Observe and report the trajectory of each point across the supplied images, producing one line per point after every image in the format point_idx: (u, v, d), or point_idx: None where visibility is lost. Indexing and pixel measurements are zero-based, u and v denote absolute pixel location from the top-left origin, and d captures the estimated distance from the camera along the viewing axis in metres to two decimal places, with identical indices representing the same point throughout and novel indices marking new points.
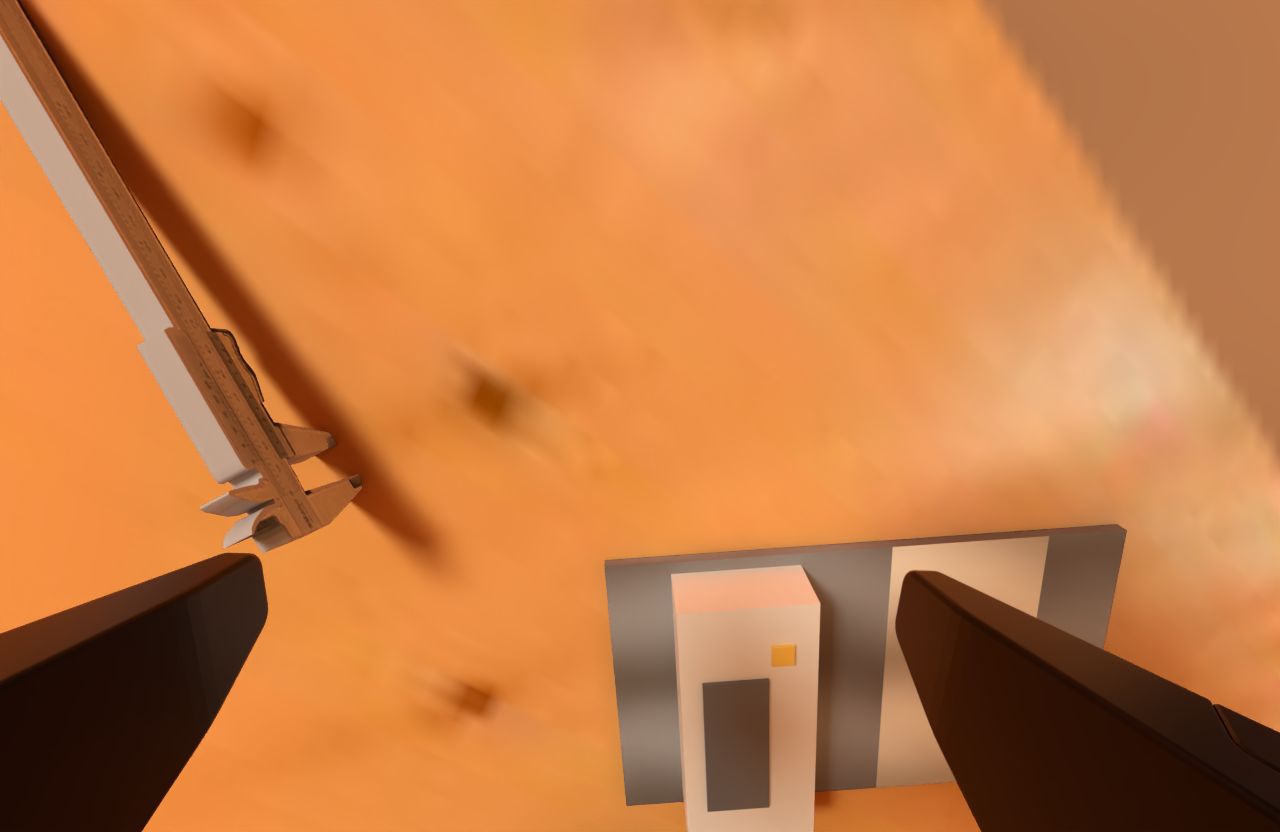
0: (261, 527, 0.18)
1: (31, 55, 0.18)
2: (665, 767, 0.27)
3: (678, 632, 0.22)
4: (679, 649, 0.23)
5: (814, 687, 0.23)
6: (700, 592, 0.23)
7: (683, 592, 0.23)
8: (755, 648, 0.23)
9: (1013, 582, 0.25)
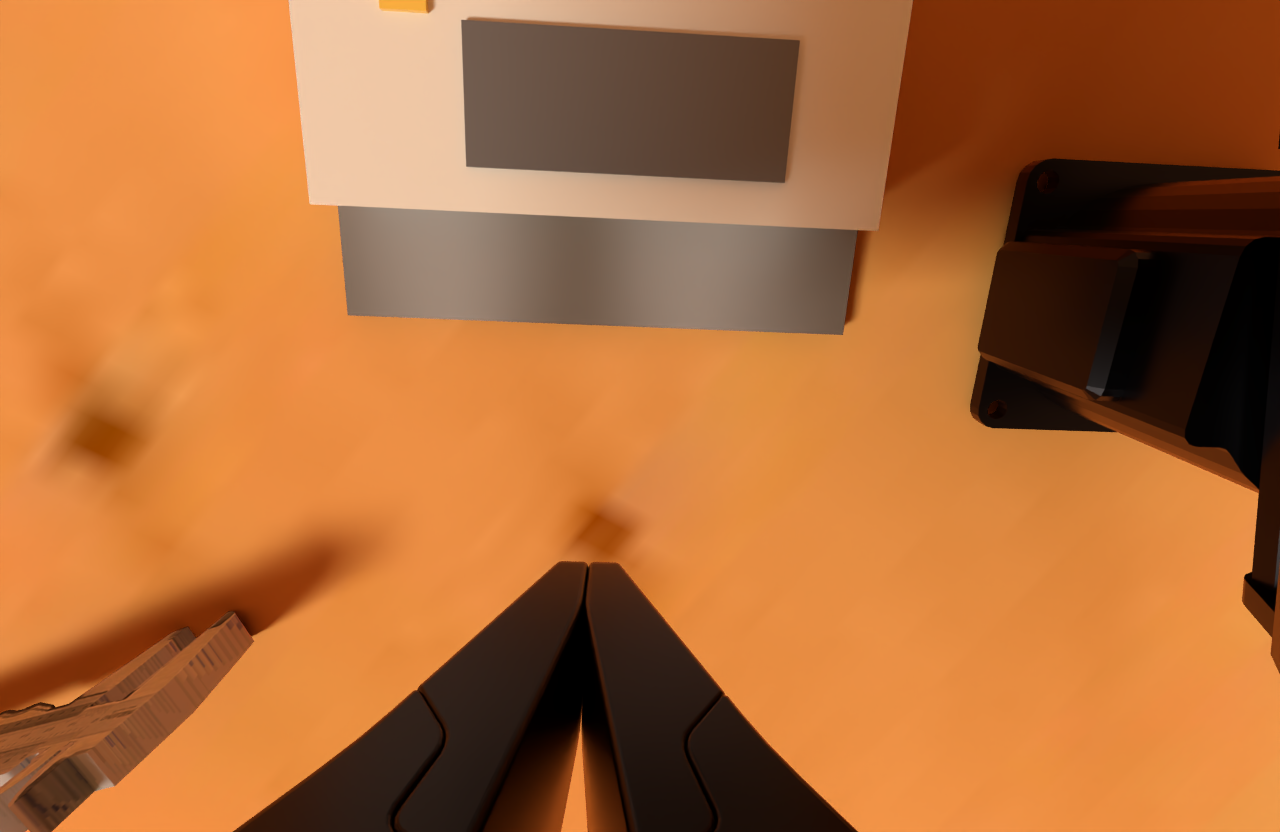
0: (29, 788, 0.13)
1: None
2: (770, 255, 0.15)
3: (351, 203, 0.12)
4: (388, 205, 0.12)
5: None
6: None
7: None
8: (389, 48, 0.11)
9: None
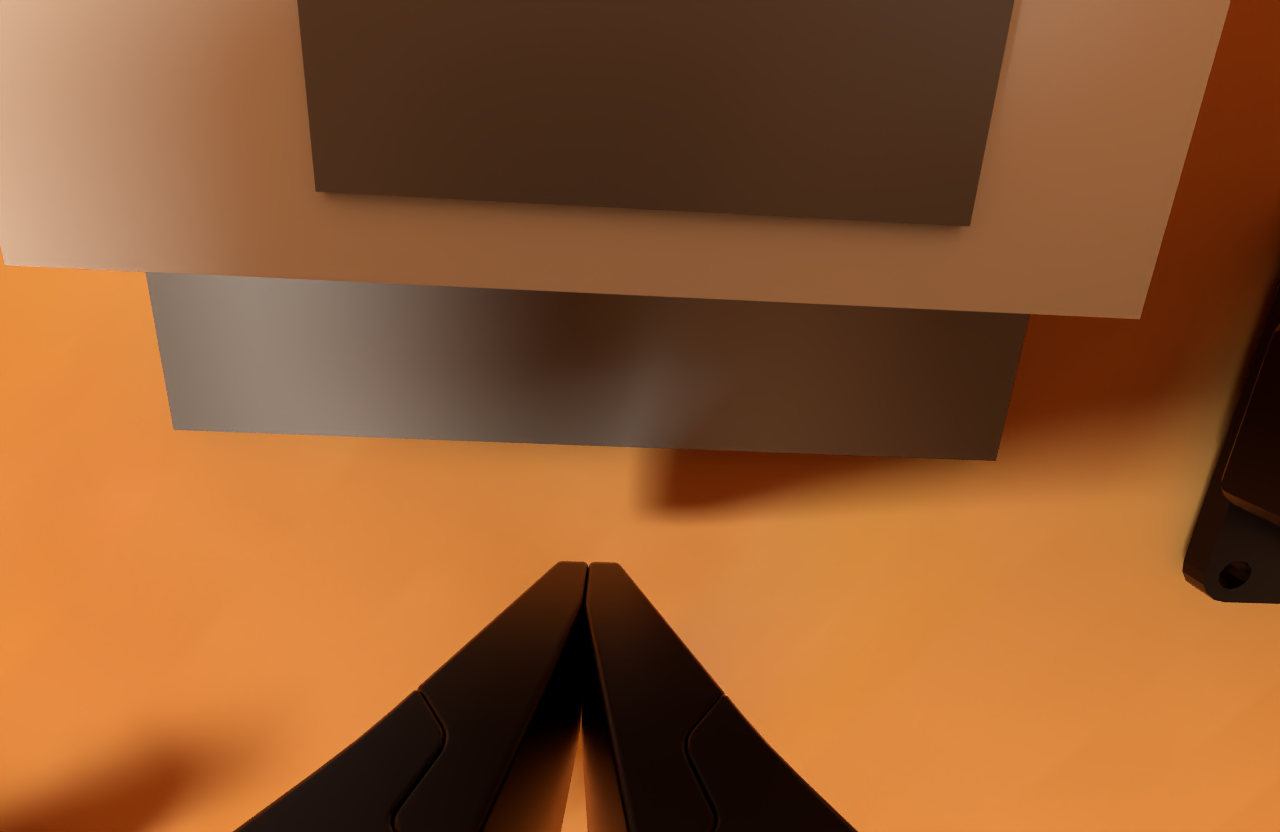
0: None
1: None
2: (884, 335, 0.09)
3: (90, 264, 0.06)
4: (165, 268, 0.06)
5: None
6: None
7: None
8: None
9: None
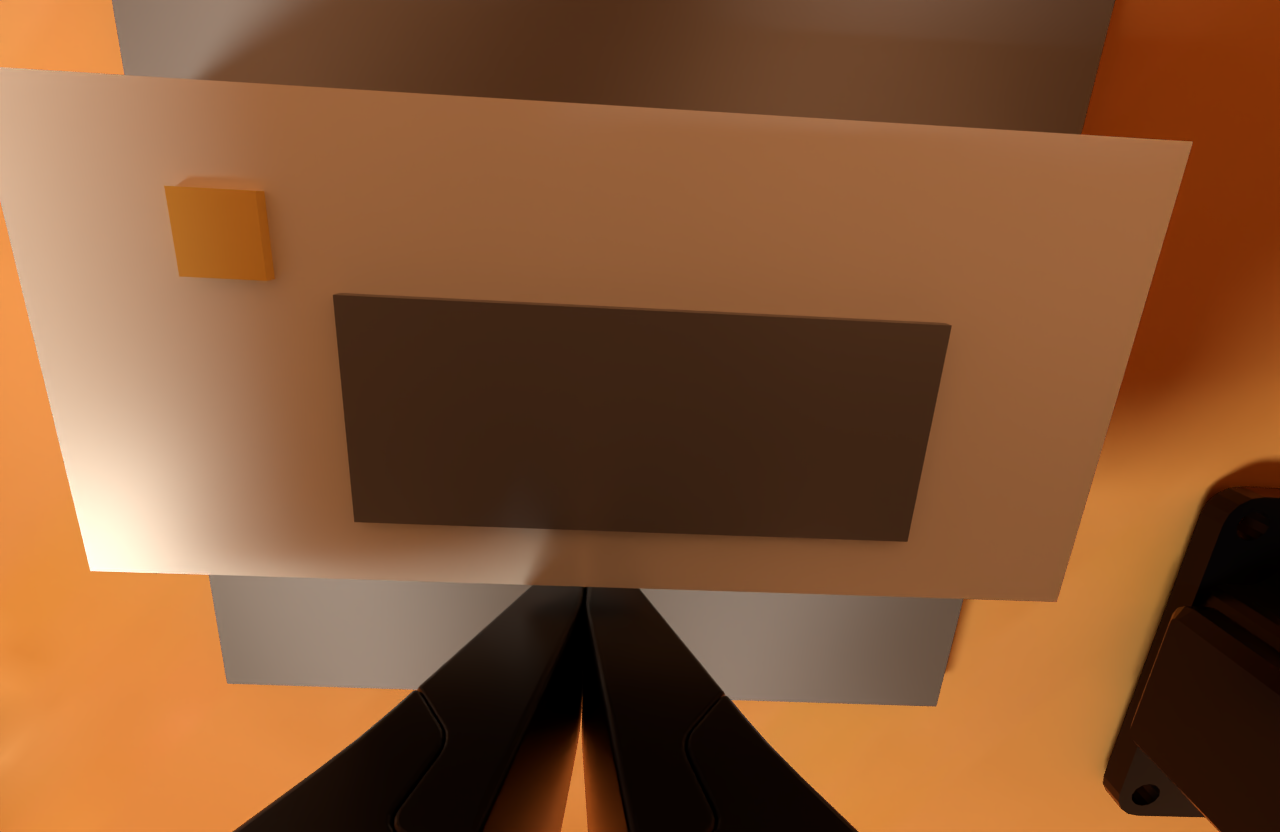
0: None
1: None
2: (838, 612, 0.10)
3: (162, 570, 0.07)
4: (225, 572, 0.07)
5: (385, 106, 0.06)
6: None
7: None
8: (208, 335, 0.06)
9: None
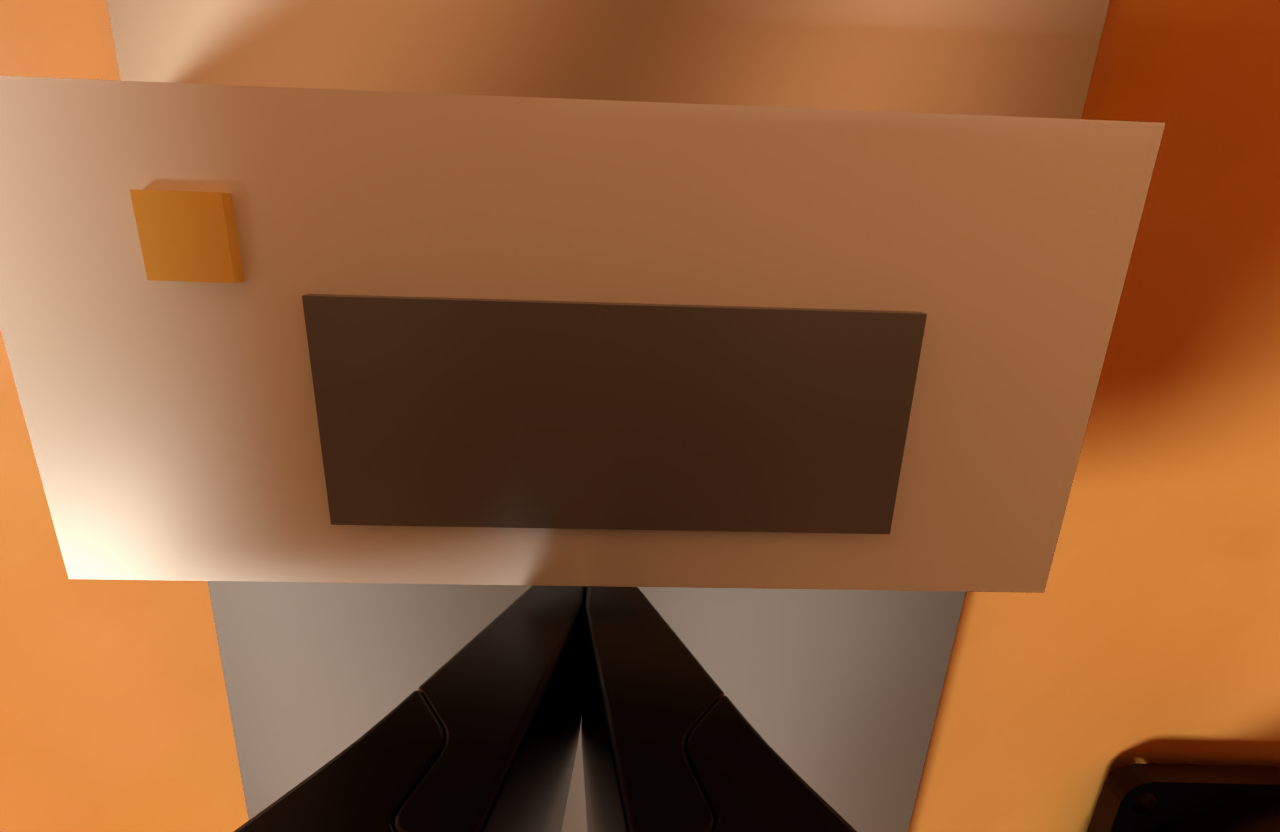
0: None
1: None
2: None
3: (140, 576, 0.07)
4: (204, 578, 0.07)
5: (349, 105, 0.06)
6: None
7: None
8: (181, 338, 0.06)
9: None
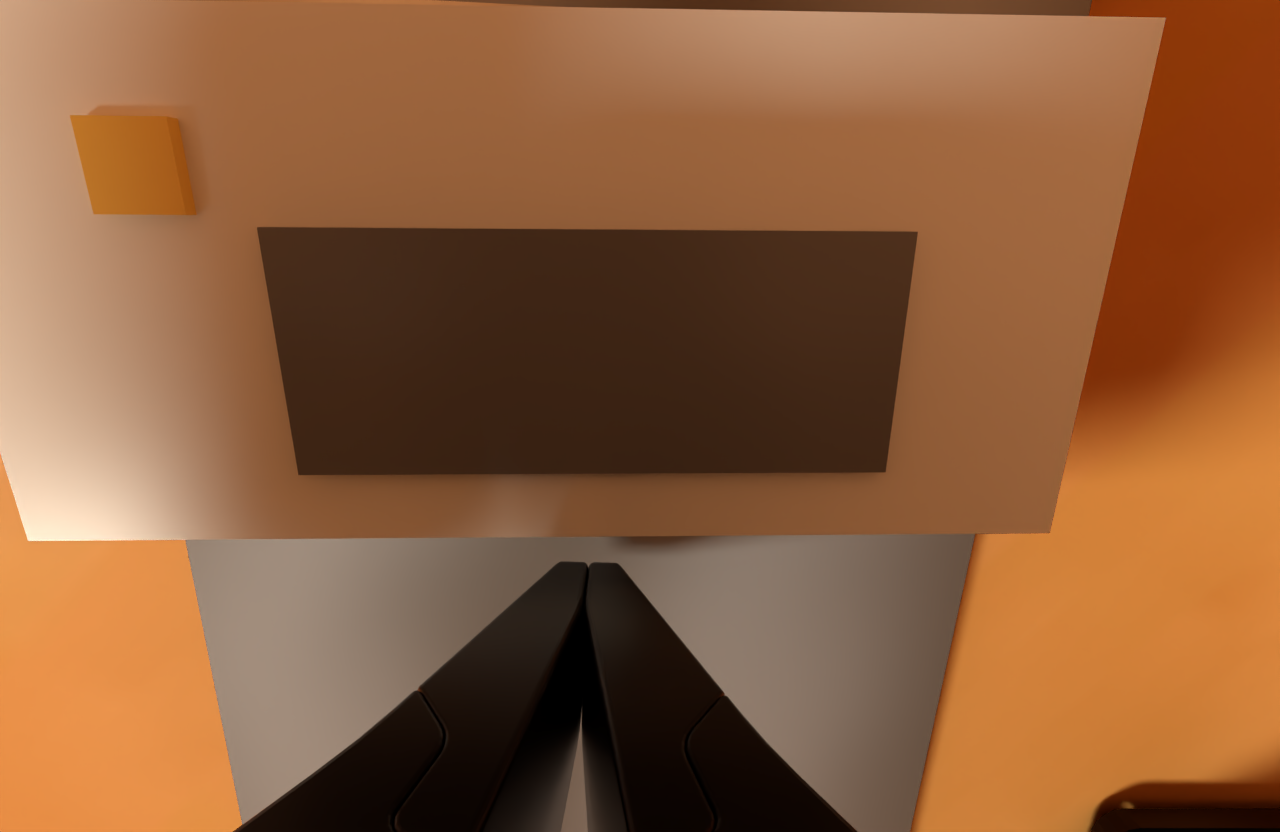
0: None
1: None
2: None
3: (103, 536, 0.07)
4: (169, 537, 0.07)
5: (298, 19, 0.05)
6: None
7: None
8: (132, 278, 0.06)
9: None
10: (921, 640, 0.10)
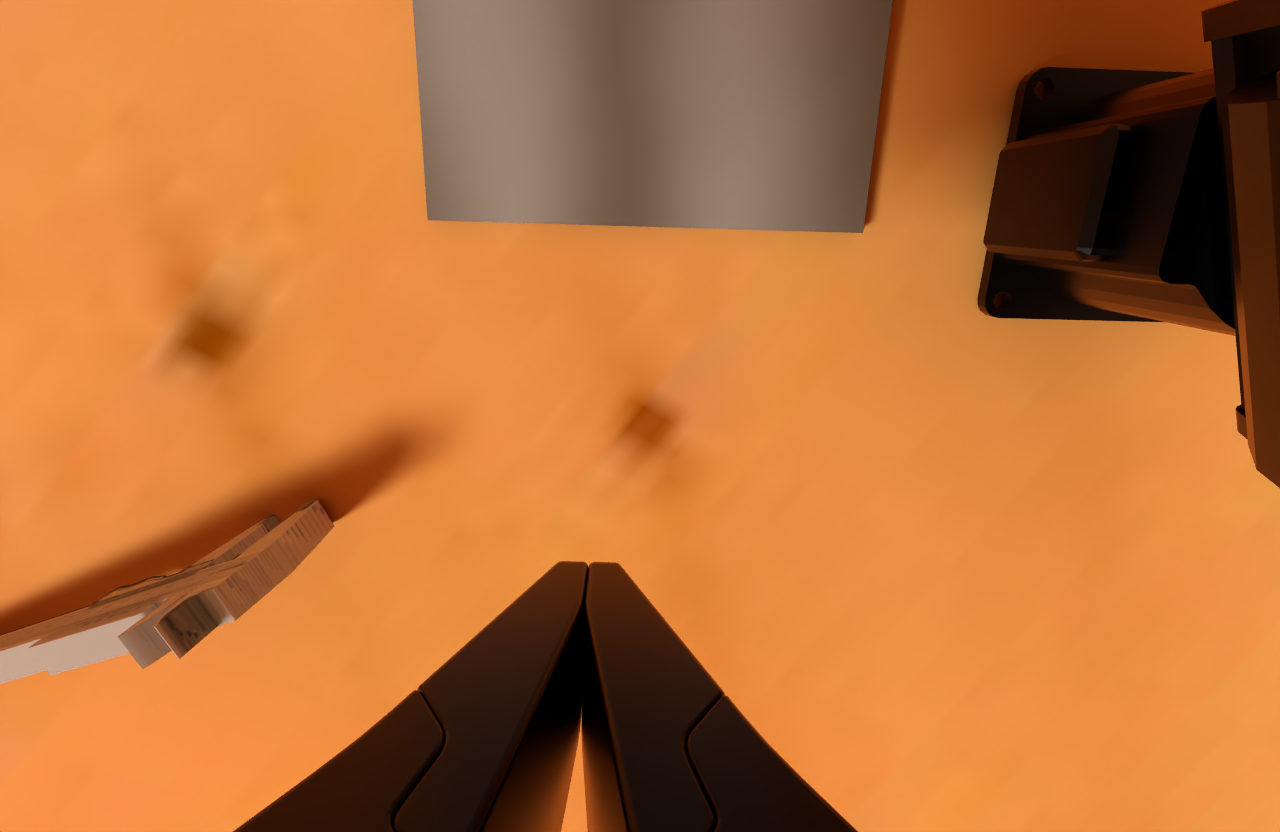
0: (168, 615, 0.15)
1: None
2: (798, 160, 0.17)
3: None
4: None
5: None
6: None
7: None
8: None
9: None
10: None
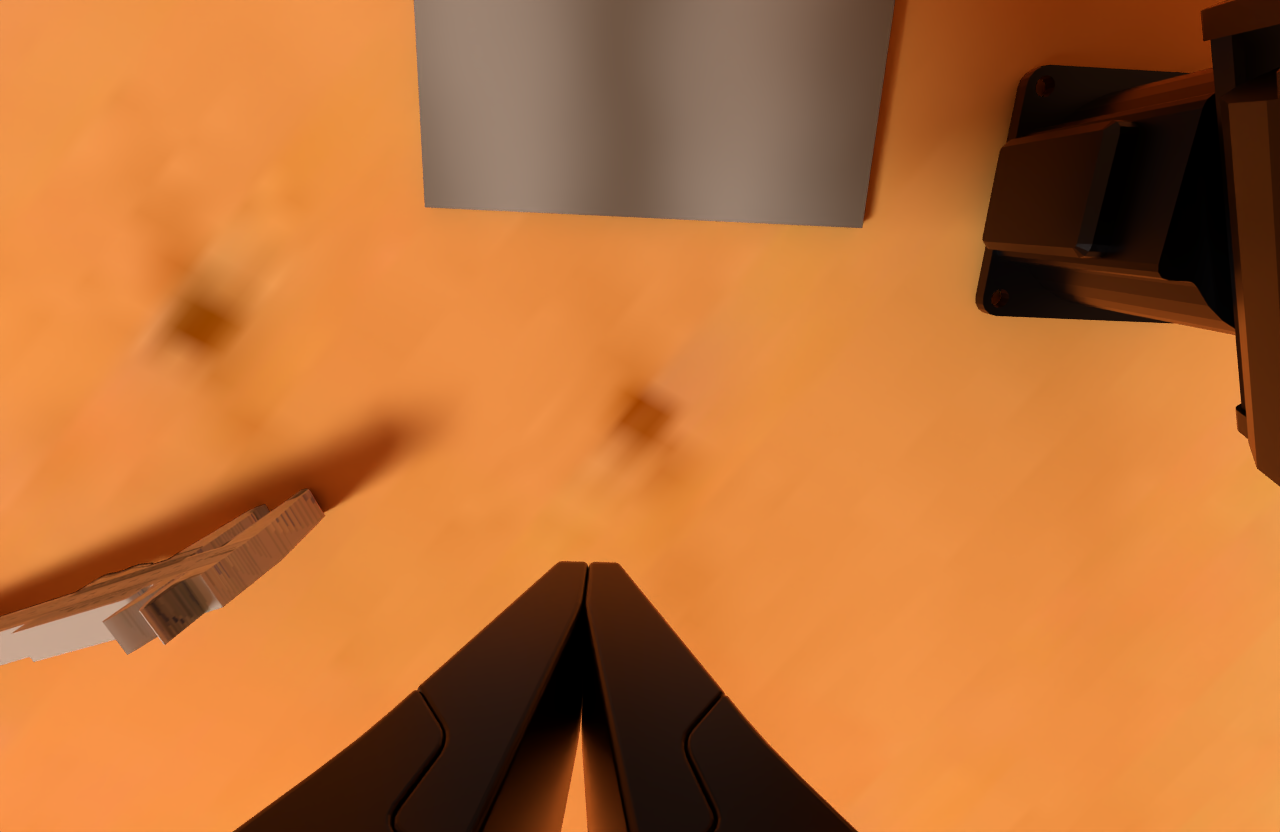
0: (154, 600, 0.15)
1: None
2: (798, 154, 0.17)
3: None
4: None
5: None
6: None
7: None
8: None
9: None
10: None
